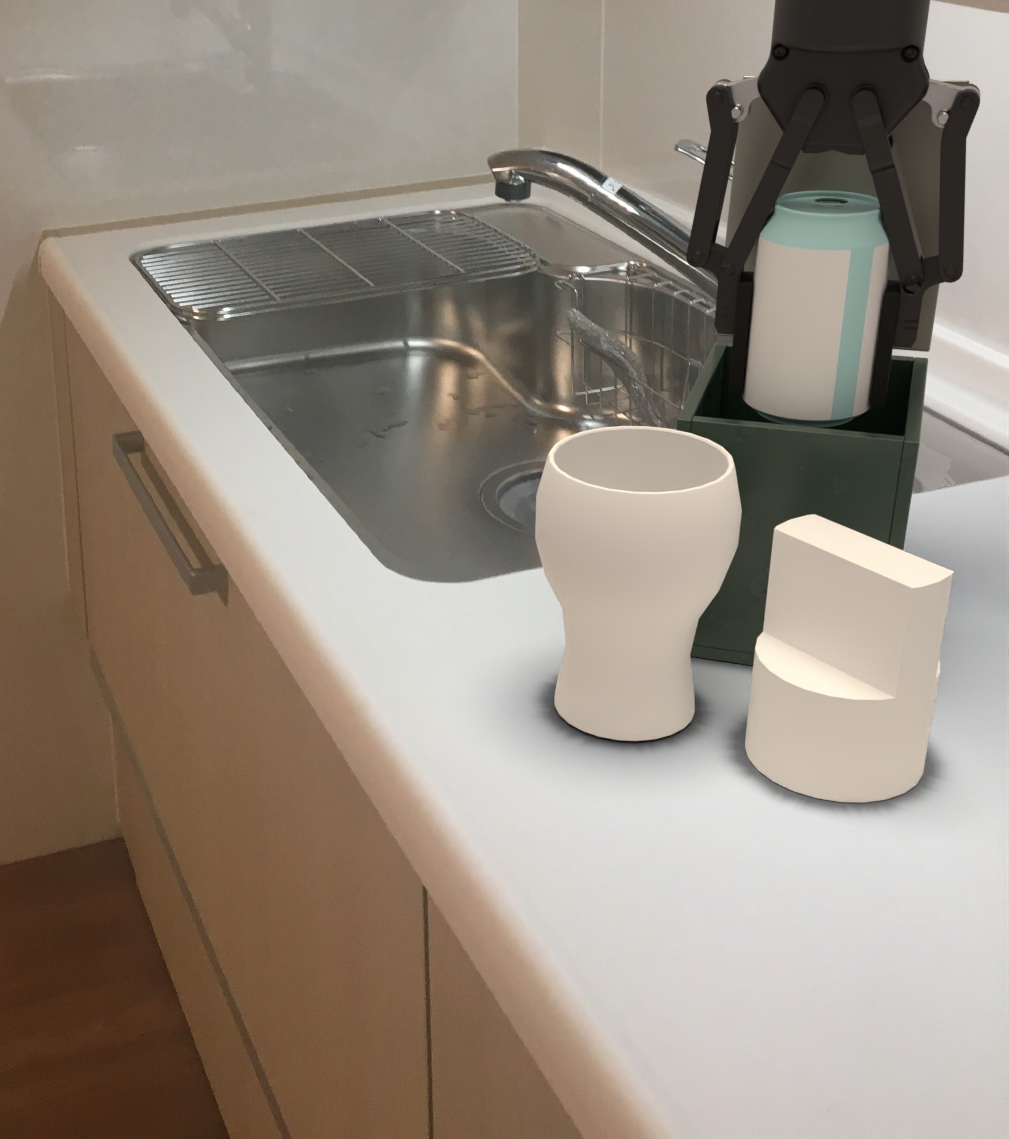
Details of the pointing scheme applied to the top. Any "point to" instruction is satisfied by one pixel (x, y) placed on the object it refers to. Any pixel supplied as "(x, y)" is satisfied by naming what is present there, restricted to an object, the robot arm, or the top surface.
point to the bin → (800, 484)
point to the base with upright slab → (845, 663)
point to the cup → (634, 570)
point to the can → (817, 308)
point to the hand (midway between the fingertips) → (806, 393)
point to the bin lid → (848, 183)
